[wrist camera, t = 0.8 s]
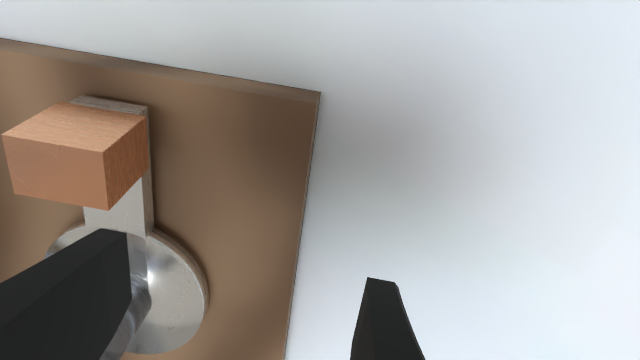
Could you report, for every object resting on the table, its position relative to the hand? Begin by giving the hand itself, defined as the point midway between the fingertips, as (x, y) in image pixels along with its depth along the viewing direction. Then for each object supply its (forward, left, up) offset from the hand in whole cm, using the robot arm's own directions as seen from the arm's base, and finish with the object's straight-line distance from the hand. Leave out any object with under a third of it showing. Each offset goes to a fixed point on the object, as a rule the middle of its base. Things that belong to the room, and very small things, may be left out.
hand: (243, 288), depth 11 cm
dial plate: (-6, -5, -7) cm, 11 cm away
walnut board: (-8, -6, -8) cm, 13 cm away
